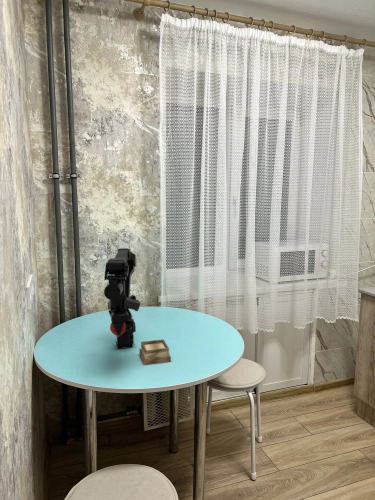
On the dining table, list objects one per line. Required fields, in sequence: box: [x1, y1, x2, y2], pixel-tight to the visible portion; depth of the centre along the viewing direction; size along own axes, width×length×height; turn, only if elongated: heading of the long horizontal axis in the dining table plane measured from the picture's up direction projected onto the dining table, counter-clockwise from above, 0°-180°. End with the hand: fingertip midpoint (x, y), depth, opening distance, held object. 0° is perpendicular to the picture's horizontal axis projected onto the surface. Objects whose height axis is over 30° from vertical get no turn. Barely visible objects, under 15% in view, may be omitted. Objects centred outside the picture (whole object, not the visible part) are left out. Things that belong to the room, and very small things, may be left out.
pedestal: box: [138, 338, 172, 366], centre depth 146 cm, size 10×10×5 cm
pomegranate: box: [109, 322, 126, 338], centre depth 142 cm, size 6×6×8 cm
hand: (118, 332), depth 142 cm, fingers closed on pomegranate, 6 cm apart
